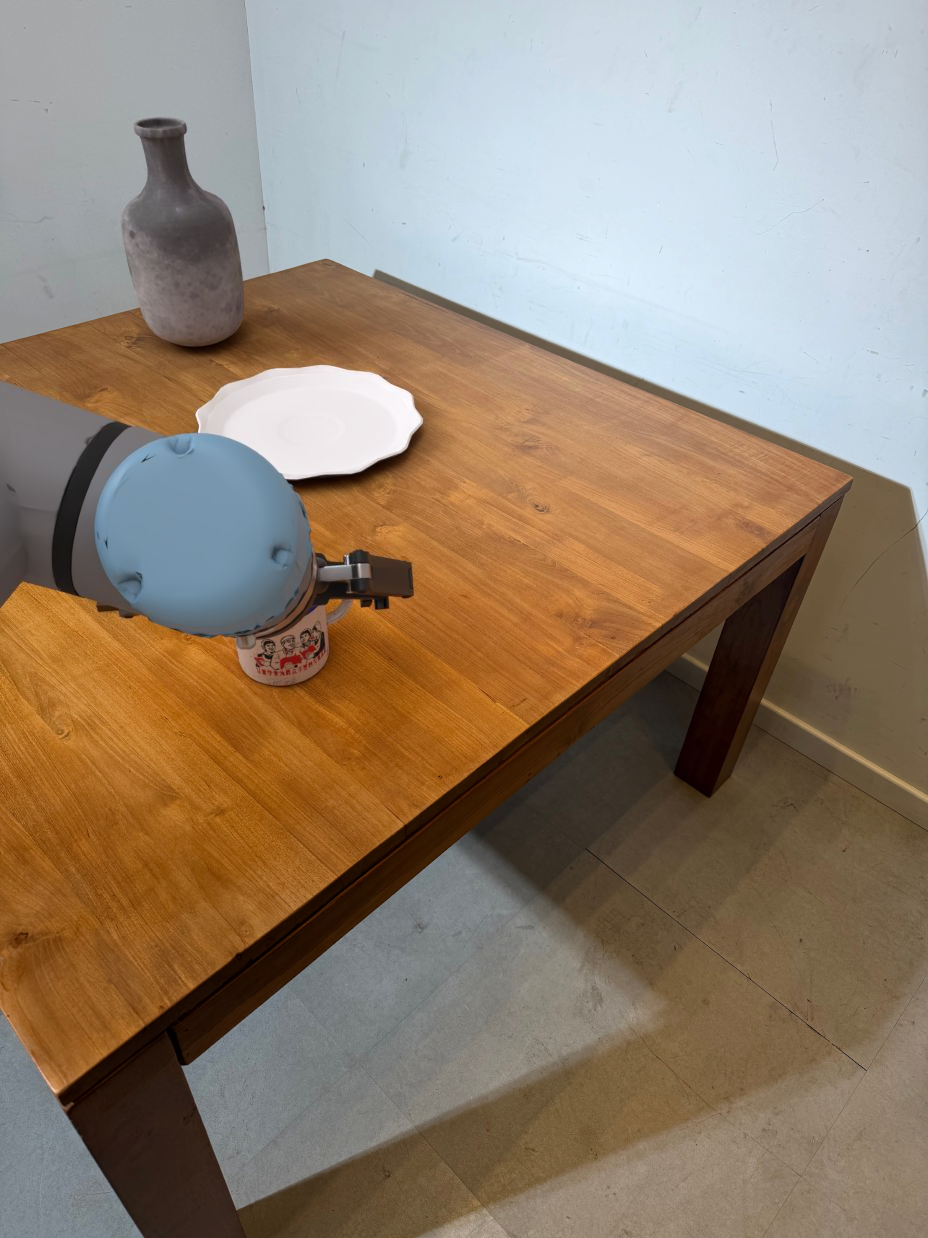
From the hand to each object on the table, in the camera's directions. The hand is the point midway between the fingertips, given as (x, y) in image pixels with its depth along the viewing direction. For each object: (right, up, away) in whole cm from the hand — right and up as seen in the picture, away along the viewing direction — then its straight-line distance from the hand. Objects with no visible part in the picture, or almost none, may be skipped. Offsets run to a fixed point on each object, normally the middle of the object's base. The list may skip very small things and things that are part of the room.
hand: (278, 596), depth 66 cm
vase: (-27, +42, +66) cm, 83 cm away
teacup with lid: (-1, -5, +16) cm, 17 cm away
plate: (-6, +23, +46) cm, 52 cm away
